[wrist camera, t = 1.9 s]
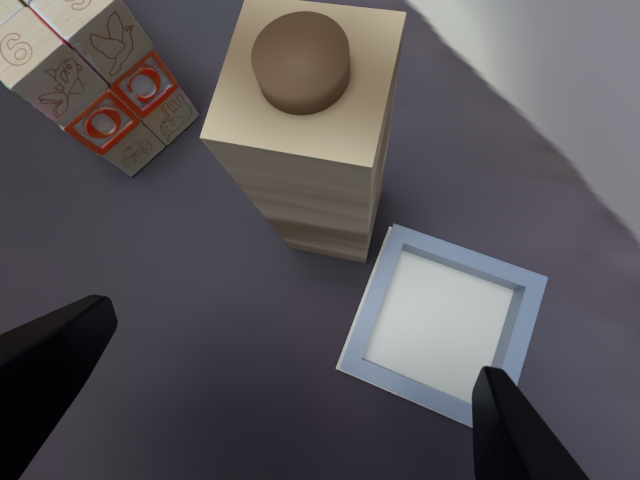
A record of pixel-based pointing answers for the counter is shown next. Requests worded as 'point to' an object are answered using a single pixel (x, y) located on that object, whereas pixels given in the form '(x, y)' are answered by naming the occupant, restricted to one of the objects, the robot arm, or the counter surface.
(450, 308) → the blue square tray
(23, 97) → the stack of blocks
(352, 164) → the maple pillar block
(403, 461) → the counter surface
